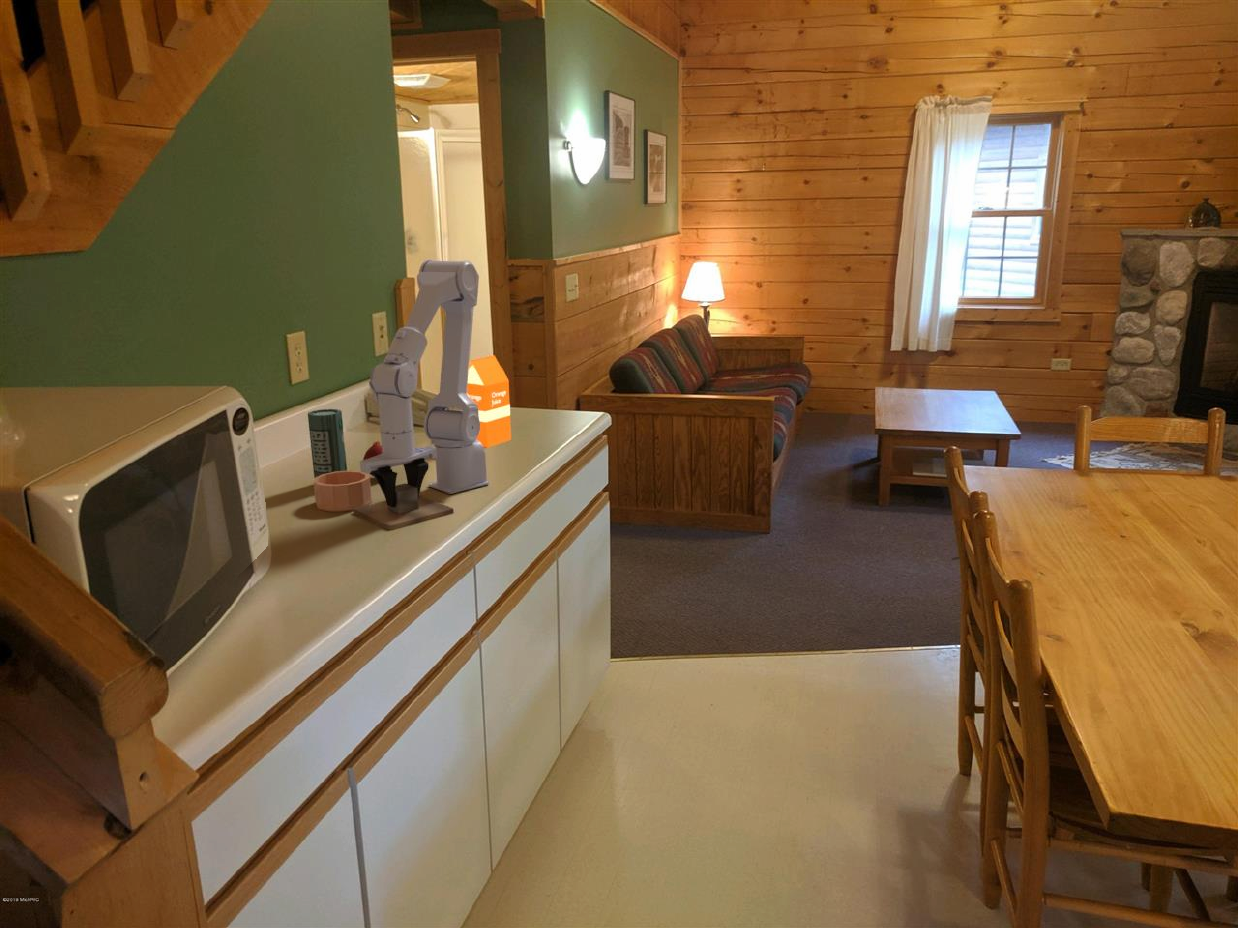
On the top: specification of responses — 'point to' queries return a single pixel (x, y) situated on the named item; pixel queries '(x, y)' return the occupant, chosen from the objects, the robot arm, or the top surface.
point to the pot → (342, 490)
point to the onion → (373, 452)
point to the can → (327, 441)
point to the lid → (403, 509)
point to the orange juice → (490, 400)
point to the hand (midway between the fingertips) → (402, 503)
